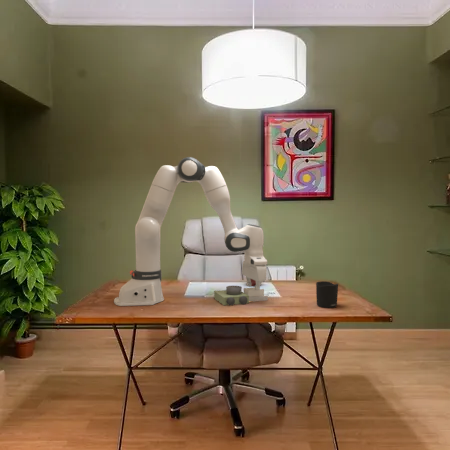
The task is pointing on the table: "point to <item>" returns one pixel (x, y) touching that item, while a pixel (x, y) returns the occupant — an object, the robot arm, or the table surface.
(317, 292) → the pen holder
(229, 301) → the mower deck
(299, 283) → the table surface
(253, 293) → the chute
